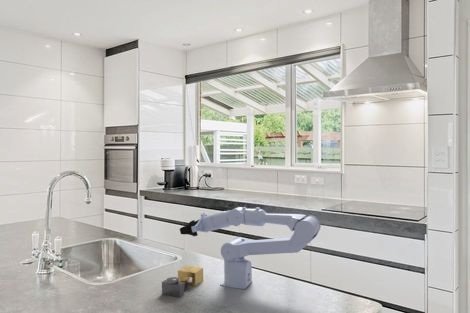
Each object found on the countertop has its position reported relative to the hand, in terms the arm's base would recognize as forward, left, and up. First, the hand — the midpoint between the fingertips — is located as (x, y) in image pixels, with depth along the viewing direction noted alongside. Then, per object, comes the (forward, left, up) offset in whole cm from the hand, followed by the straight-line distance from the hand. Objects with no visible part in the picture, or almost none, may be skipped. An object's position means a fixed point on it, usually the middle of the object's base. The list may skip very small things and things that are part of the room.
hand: (186, 228), depth 139 cm
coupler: (-5, +15, -18) cm, 24 cm away
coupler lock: (-5, +6, -18) cm, 19 cm away
